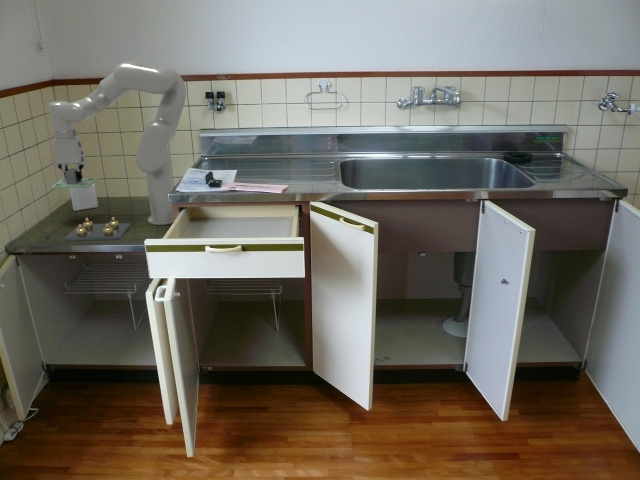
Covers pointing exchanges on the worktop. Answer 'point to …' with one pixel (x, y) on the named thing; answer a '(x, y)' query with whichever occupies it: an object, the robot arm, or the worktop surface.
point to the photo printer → (84, 198)
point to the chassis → (98, 231)
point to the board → (82, 183)
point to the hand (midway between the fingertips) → (74, 180)
